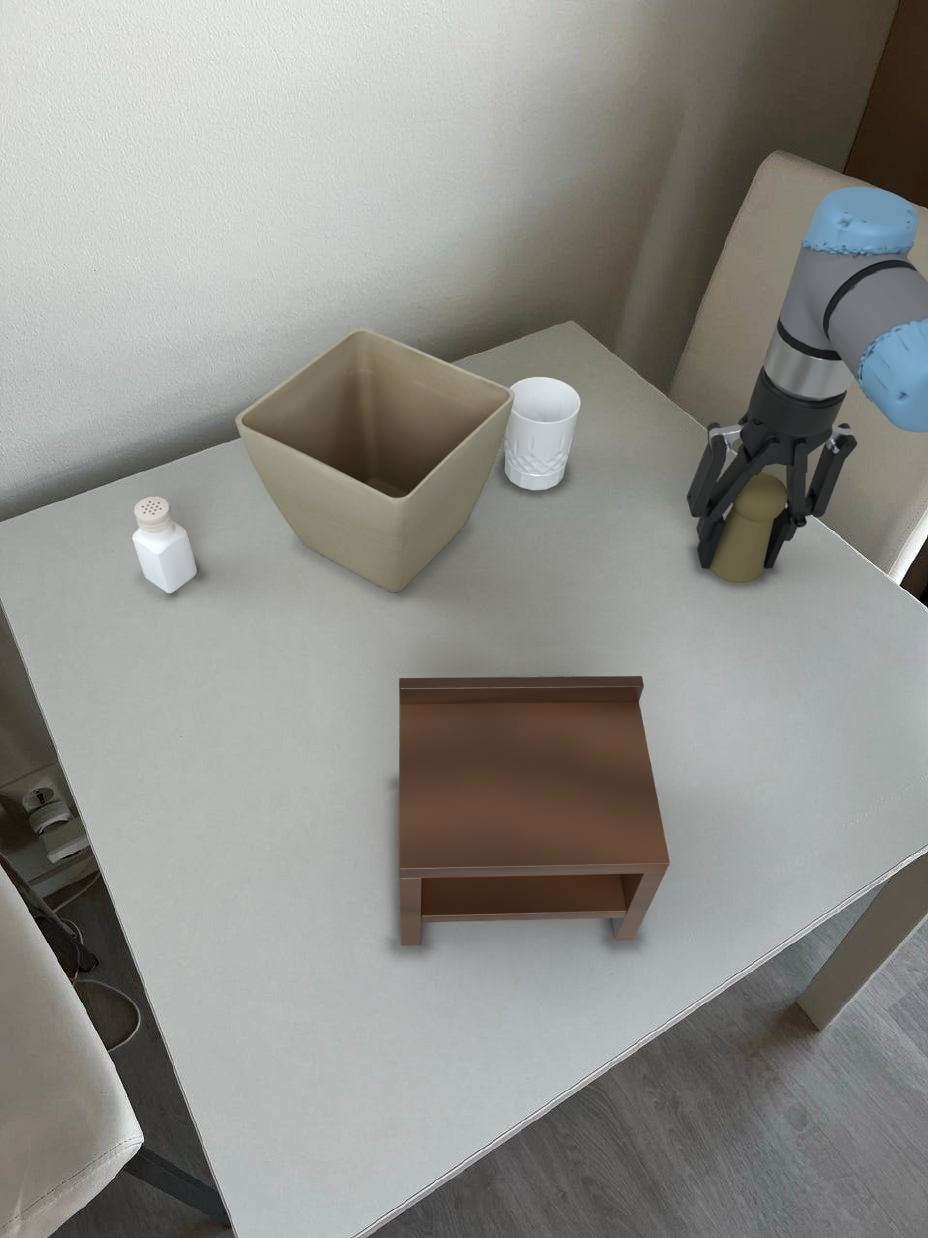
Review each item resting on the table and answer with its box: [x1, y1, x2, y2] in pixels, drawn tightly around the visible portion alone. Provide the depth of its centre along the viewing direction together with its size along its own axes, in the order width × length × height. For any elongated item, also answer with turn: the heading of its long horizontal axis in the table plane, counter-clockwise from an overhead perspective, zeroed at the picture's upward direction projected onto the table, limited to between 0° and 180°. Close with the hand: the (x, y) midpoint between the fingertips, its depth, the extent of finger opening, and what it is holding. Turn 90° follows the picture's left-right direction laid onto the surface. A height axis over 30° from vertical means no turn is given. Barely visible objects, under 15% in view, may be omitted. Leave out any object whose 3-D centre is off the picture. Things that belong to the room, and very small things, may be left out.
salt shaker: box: [131, 496, 198, 594], centre depth 91 cm, size 4×4×10 cm
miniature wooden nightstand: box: [398, 675, 671, 946], centre depth 71 cm, size 14×18×16 cm
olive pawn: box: [709, 471, 787, 584], centre depth 95 cm, size 6×6×11 cm
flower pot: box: [234, 326, 515, 593], centre depth 94 cm, size 19×19×17 cm
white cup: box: [503, 376, 582, 491], centre depth 104 cm, size 8×8×10 cm
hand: (734, 558), depth 100 cm, fingers closed on olive pawn, 6 cm apart
